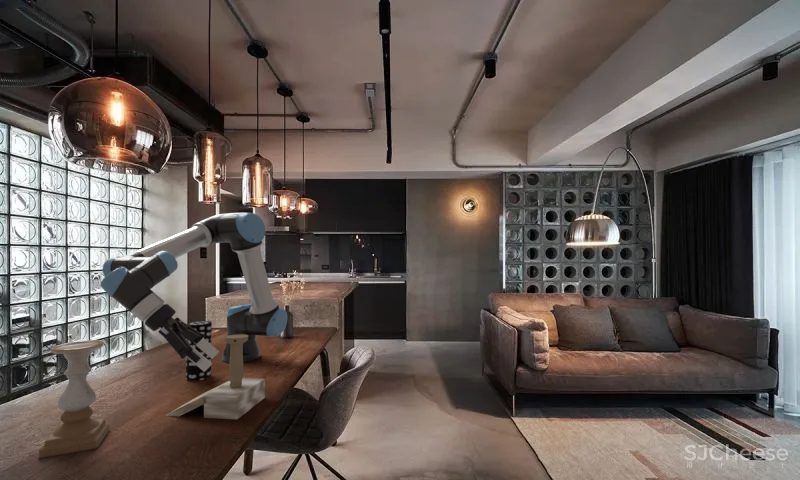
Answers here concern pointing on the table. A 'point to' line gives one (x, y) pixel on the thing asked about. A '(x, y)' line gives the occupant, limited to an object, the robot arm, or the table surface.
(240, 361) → the handle
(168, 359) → the table surface
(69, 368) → the candle holder
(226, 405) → the ramp bench
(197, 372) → the white-spotted black cylinder
